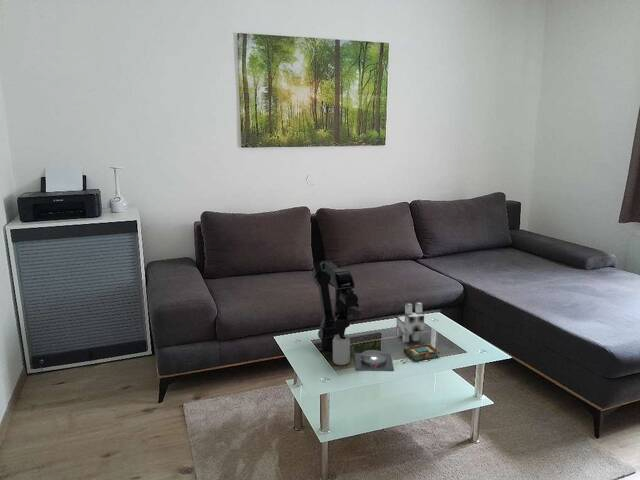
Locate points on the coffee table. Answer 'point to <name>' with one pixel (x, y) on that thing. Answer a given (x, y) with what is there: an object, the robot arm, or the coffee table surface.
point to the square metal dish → (373, 361)
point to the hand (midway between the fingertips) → (341, 334)
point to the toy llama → (410, 323)
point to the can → (341, 350)
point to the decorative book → (420, 352)
